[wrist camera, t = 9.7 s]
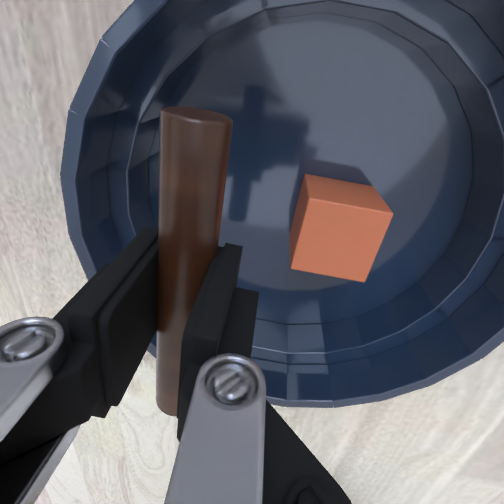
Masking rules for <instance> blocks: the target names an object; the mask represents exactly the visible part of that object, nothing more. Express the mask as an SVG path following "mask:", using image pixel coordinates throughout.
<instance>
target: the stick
mask: <svg viewBox="0 0 504 504" xmlns="http://www.w3.org/2000/svg"><path fill="white" fill-rule="evenodd" d="M232 129H233V120H232V119H231V118H230V117H228V116H226V115H223V114H220V113H217V112H213V111H208V110H203V109H196V108H189V107H165V108H162V109H161V110H160V126H159V202H158V286H157V356H156V402H157V405H158V407H159V409H160V410H161V411H162V412H164V413H165V414H167V415H170V416H177V403H178V388H179V373H180V359H181V344H182V337H183V333H184V329H185V326H186V323H187V320H188V318H189V315H190V313H191V311H192V308H193V306H194V303H195V301H196V298H197V296H198V293H199V291H200V288H201V286H202V284H203V281H204V279H205V276H206V274H207V271H208V269H209V266H210V264H211V261H212V259H214V258H215V257H216V255H217V251H218V243H219V235H220V227H221V218H222V210H223V202H224V194H225V186H226V178H227V170H228V161H229V153H230V145H231V137H232Z"/></svg>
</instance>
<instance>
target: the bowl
mask: <svg viewBox="0 0 504 504" xmlns="http://www.w3.org/2000/svg"><path fill="white" fill-rule="evenodd" d="M102 38H103V39H102ZM102 38H101V39H100V41H99V43H98V45H97V48H96V50H95V52H94V54H93V56H92V59H91V61H90V63H89V65H88V68H87V70H86V72H85V74H84V77H83V79H82V81H81V83H80V85H79V88H78V90H77V92H76V94H75V97H74V99H73V101H72V103H71V105H70V109H69V110H68V117H67V125H66V133H65V141H64V149H63V156H62V164H61V172H60V176H61V178H60V179H61V186H62V193H63V199H64V206H65V213H66V219H67V226H68V233H69V236H70V239H71V242H72V244H73V246H74V249H75V251H76V253H77V256H78V258H79V260H80V263H81V265H82V267H83V270H84V272H85V275H86V277H87V279H88V281H89V280H90V279H91V278H92V277H93V276H94V275H95V274H96V273H97V272H98V271H99V270H100V268H101V267H102V266H104V265H105V264H106V263H111V262H112V261H113V260H114V259H115V258H116V257H117V256H118V255H119V254H120V252H121V251H122V250H123V249H124V248H125V247H126V246H127V245H128V244H129V243H130V242H131V241H132V240H133V239H134V237H135V236H136V235H137V234H138V233H139V232H140V231H141V230H142V229H143V228H151V229H156V230H158V202H159V126H160V110H161V109H162V108H165V107H189V108H196V109H203V110H208V111H213V112H217V113H220V114H223V115H226V116H228V117H230V118H231V119H232V120H233V129H232V137H231V145H230V153H229V161H228V170H227V178H226V186H225V194H224V202H223V210H222V218H221V227H220V235H219V243H218V246H221V247H224V245H225V243H230V244H235V245H240V246H243V249H242V255H241V261H240V267H239V273H238V279H237V285H236V287H239V288H244V289H249V290H254V291H259V298H258V306H257V314H256V321H255V329H254V336H253V344H252V351H251V359H250V360H252V361H254V362H255V363H256V364H257V365H258V366H259V367H260V368H261V370H262V372H263V374H264V376H265V382H266V400H267V401H268V402H269V403H270V404H272V405H278V406H283V407H310V408H333V407H334V408H337V407H344V406H351V405H358V404H365V403H372V402H379V401H382V400H387V399H390V398H393V397H396V396H400V395H403V394H406V393H409V392H412V391H415V390H418V389H422V388H425V387H428V386H431V385H432V384H435V383H437V382H439V381H441V380H443V379H445V378H447V377H449V376H450V375H452V374H454V373H456V372H458V371H460V370H462V369H464V368H466V367H468V366H469V365H471V364H473V363H475V362H477V361H479V360H480V359H483V358H484V357H485V356H486V355H488V354H489V353H490V352H491V351H493V350H494V349H495V348H496V347H498V346H499V345H500V344H501V343H503V342H504V0H134V1H133V2H132V3H131V5H130V6H129V7H128V8H127V9H126V10H125V11H124V12H123V14H122V15H121V16H120V17H119V18H118V19H117V20H116V21H115V22H114V24H113V25H112V26H111V27H110V28H109V29H108V30H107V31H106V32H105V34H104V35H103V36H102ZM305 174H310V175H315V176H321V177H326V178H331V179H337V180H342V181H347V182H353V183H358V184H364V185H369V186H373V187H374V188H375V189H376V191H377V192H378V193H379V195H380V196H381V197H382V199H383V200H384V201H385V203H386V204H387V205H388V207H389V208H390V209H391V211H392V212H393V217H392V219H391V221H390V224H389V226H388V229H387V231H386V233H385V236H384V238H383V240H382V243H381V245H380V248H379V250H378V252H377V255H376V257H375V259H374V262H373V264H372V267H371V269H370V271H369V274H368V276H367V279H366V281H365V282H359V281H354V280H348V279H343V278H338V277H332V276H327V275H321V274H316V273H311V272H305V271H300V270H295V269H291V268H290V237H289V234H290V230H291V226H292V222H293V218H294V214H295V210H296V206H297V202H298V198H299V194H300V190H301V186H302V182H303V178H304V175H305ZM147 351H148V352H149V353H151V354H152V355H153V356H154V357H155V358H156V356H157V331H156V333H155V335H154V337H153V338H152V340H151V342H150V344H149V346H148V348H147Z"/></svg>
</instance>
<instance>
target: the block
mask: <svg viewBox="0 0 504 504" xmlns="http://www.w3.org/2000/svg"><path fill="white" fill-rule="evenodd" d="M392 217H393V212H392V211H391V209H390V208H389V207H388V205H387V204H386V203H385V201H384V200H383V199H382V197H381V196H380V195H379V193H378V192H377V191H376V189H375V188H374V187H373V186H369V185H364V184H358V183H353V182H347V181H342V180H337V179H331V178H326V177H321V176H315V175H310V174H305V175H304V178H303V182H302V186H301V190H300V194H299V198H298V202H297V206H296V210H295V214H294V218H293V222H292V226H291V230H290V234H289V237H290V268H291V269H295V270H300V271H305V272H311V273H316V274H321V275H327V276H332V277H338V278H343V279H348V280H354V281H359V282H365V281H366V279H367V276H368V274H369V271H370V269H371V267H372V264H373V262H374V259H375V257H376V255H377V252H378V250H379V248H380V245H381V243H382V240H383V238H384V236H385V233H386V231H387V229H388V226H389V224H390V221H391V219H392Z"/></svg>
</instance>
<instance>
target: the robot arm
mask: <svg viewBox="0 0 504 504" xmlns="http://www.w3.org/2000/svg"><path fill="white" fill-rule="evenodd" d="M242 249H243V246H240V245H235V244H230V243H225V245H224V247H221V246H218V251H217V255H216V257H215V258H214V259H212V261H211V264H210V266H209V269H208V271H207V274H206V276H205V279H204V281H203V284H202V286H201V288H200V291H199V293H198V296H197V298H196V301H195V303H194V306H193V308H192V311H191V313H190V315H189V318H188V320H187V323H186V326H185V329H184V333H183V337H182V344H181V359H180V373H179V388H178V403H177V418H178V429H177V439H178V440H179V442H180V444H179V448H178V452H177V456H176V459H175V463H174V467H173V471H172V475H171V479H170V482H169V486H168V490H167V494H166V498H165V502H164V504H351V501H350V500H349V498H348V497H347V495H346V494H345V492H344V491H343V489H342V488H341V487H340V485H339V484H338V483H337V482H336V481H335V480H334V478H333V477H332V476H331V475H330V474H329V473H328V471H327V470H326V469H325V468H324V467H323V466H322V464H321V463H320V462H319V461H318V460H317V459H316V457H315V456H314V455H313V454H312V453H311V451H310V450H309V449H308V448H307V447H306V446H305V444H304V443H303V442H302V441H301V440H300V439H299V437H298V436H297V435H296V434H295V433H294V432H293V430H292V429H291V428H290V427H289V426H288V425H287V423H286V422H285V421H284V420H283V419H282V417H281V416H280V415H279V414H278V413H277V412H276V410H275V409H274V408H273V407H272V406H271V405H270V403H269V402H268V401H267V400H266V382H265V376H264V374H263V372H262V370H261V368H260V367H259V366H258V365H257V364H256V363H255V362H254V361H252V360H250V359H251V351H252V344H253V336H254V329H255V321H256V314H257V306H258V298H259V291H254V290H249V289H244V288H239V287H236V285H237V279H238V273H239V267H240V261H241V255H242ZM157 286H158V230H156V229H151V228H143V229H142V230H141V231H140V232H139V233H138V234H137V235H136V236H135V237H134V239H133V240H132V241H131V242H130V243H129V244H128V245H127V246H126V247H125V248H124V249H123V250H122V251H121V252H120V254H119V255H118V256H117V257H116V258H115V259H114V260H113V261H112V262H111V263H106V264H105V265H104V266H102V267H101V268H100V270H99V271H98V272H97V273H96V274H95V275H94V276H93V277H92V278H91V279H90V280H89V281H88V282H87V283H86V284H85V285H84V286H83V287H82V288H81V289H80V290H79V291H78V293H77V294H76V295H75V296H74V297H73V298H72V299H71V300H70V301H69V302H68V303H67V304H66V305H65V306H64V307H63V308H62V309H61V310H60V311H59V312H58V313H57V315H56V316H55V317H54V318H53V319H50V318H47V317H28V318H23V319H19V320H15V321H12V322H10V323H8V324H5V325H3V326H1V327H0V504H34V503H35V501H36V500H37V498H38V496H39V495H40V493H41V491H42V490H43V488H44V487H45V485H46V483H47V482H48V480H49V478H50V477H51V475H52V474H53V472H54V470H55V469H56V467H57V466H58V464H59V462H60V461H61V459H62V457H63V456H64V454H65V453H66V451H67V449H68V448H69V446H70V444H71V443H72V441H73V440H74V438H75V436H76V434H77V432H78V430H79V428H80V425H81V424H83V423H85V422H87V421H89V419H90V417H91V416H95V417H100V418H105V417H106V415H107V413H108V411H109V409H110V407H111V406H118V404H119V403H120V401H121V399H122V397H123V395H124V394H125V392H126V390H127V388H128V386H129V384H130V382H131V380H132V378H133V376H134V374H135V372H136V370H137V368H138V366H139V364H140V362H141V360H142V358H143V356H144V354H145V352H146V350H147V348H148V346H149V344H150V342H151V340H152V338H153V337H154V335H155V333H156V331H157Z"/></svg>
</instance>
